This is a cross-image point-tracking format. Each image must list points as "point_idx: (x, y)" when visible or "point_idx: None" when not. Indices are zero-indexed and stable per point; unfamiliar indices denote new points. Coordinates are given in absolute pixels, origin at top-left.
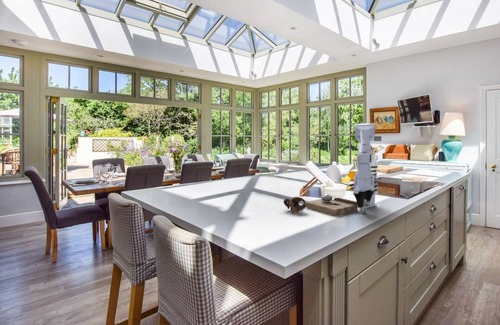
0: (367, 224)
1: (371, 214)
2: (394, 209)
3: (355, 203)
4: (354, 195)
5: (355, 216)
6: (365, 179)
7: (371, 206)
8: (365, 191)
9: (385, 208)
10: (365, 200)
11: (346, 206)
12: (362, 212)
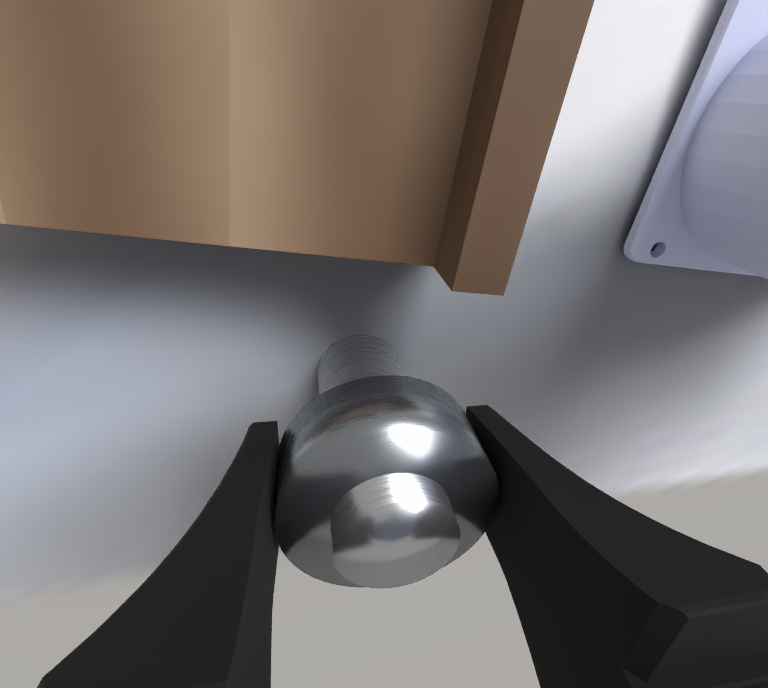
0: (11, 597)
1: None
2: (722, 461)
3: (444, 266)
4: (94, 642)
5: (140, 385)
6: None
7: (744, 274)
8: (613, 682)
9: (733, 397)
10: (368, 574)
11: (172, 194)
12: (319, 394)
